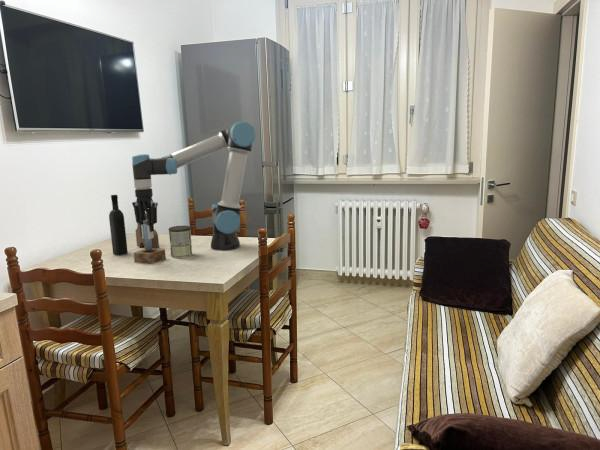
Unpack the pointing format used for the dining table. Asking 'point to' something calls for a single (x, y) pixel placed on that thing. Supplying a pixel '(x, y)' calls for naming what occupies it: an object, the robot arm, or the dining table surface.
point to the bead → (149, 256)
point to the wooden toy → (142, 241)
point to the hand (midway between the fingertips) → (148, 238)
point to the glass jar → (180, 241)
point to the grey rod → (147, 241)
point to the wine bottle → (117, 228)
